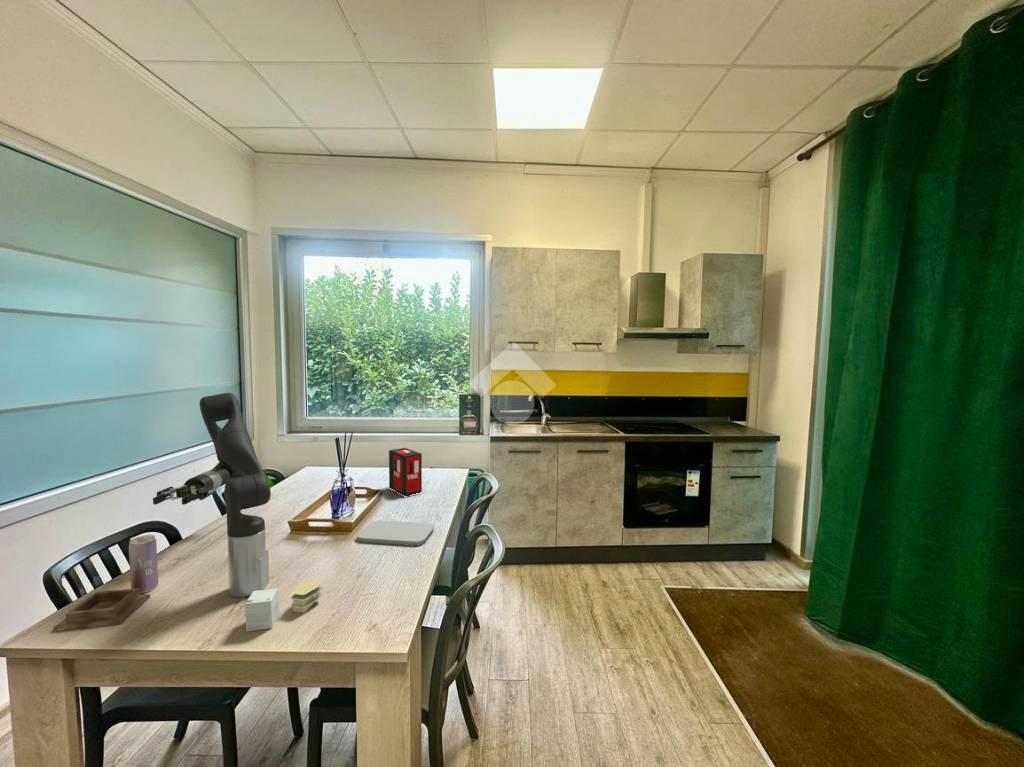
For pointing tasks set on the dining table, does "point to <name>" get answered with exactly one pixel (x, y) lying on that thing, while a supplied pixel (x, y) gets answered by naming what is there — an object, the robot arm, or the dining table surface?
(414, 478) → the cleaning product box
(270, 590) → the skincare box
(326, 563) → the dining table surface
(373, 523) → the tablet
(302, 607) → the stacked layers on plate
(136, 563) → the beverage can
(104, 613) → the can holder
